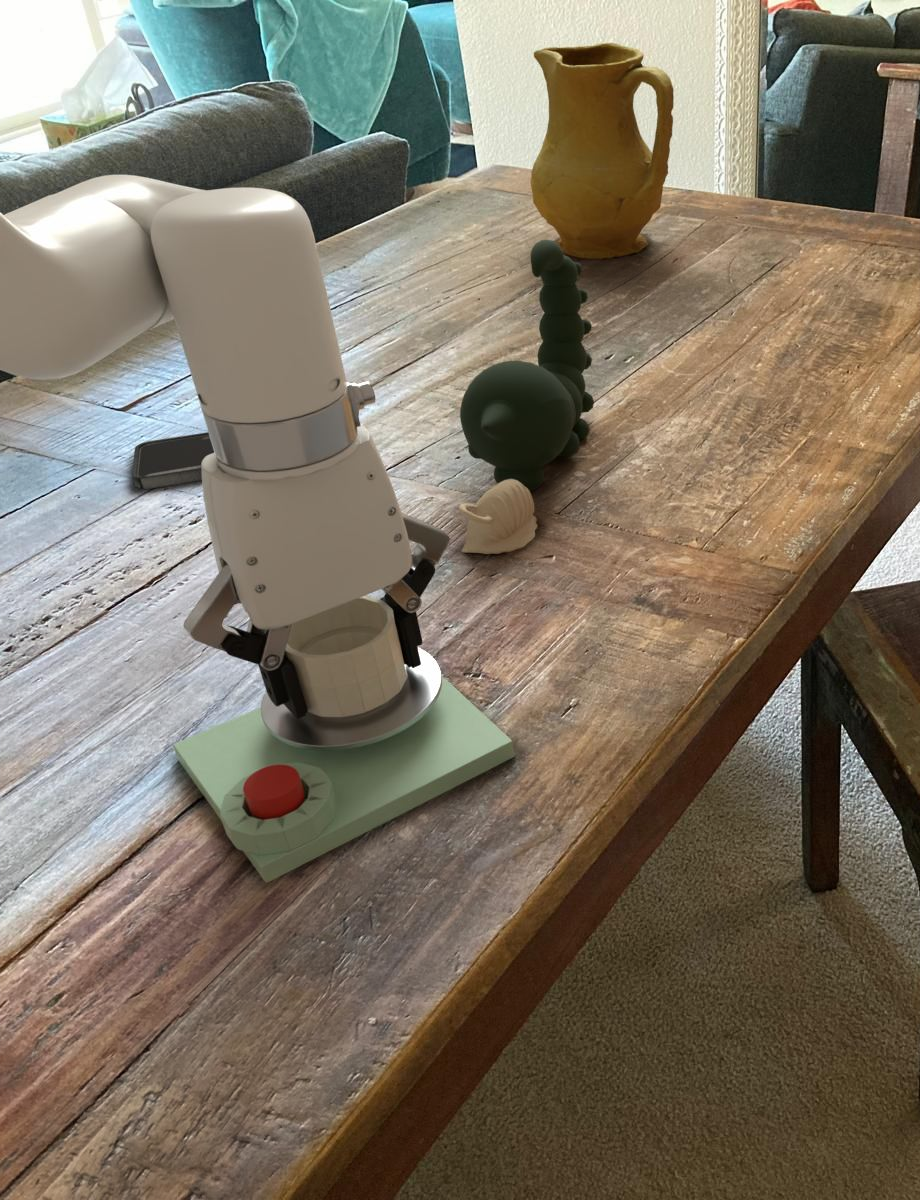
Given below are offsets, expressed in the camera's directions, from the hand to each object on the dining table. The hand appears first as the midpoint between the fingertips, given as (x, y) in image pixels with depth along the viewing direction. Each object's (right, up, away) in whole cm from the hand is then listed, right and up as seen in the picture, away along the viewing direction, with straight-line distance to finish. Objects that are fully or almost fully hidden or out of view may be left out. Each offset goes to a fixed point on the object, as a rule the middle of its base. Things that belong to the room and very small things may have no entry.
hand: (350, 680), depth 76 cm
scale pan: (0, -1, +1) cm, 1 cm away
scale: (0, -5, 0) cm, 5 cm away
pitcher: (+2, +53, +87) cm, 102 cm away
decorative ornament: (+4, +10, +22) cm, 25 cm away
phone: (-24, +18, +35) cm, 46 cm away
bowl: (0, -1, 0) cm, 1 cm away
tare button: (-2, -7, -7) cm, 10 cm away
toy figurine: (+5, +18, +35) cm, 40 cm away
